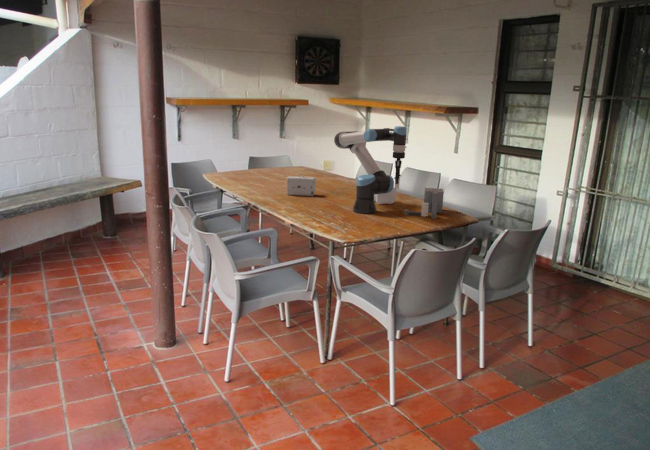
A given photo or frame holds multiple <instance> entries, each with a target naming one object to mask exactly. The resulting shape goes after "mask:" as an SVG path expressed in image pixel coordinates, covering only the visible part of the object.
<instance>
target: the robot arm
mask: <svg viewBox="0 0 650 450" xmlns="http://www.w3.org/2000/svg"><path fill="white" fill-rule="evenodd" d="M333 141H334V144H335V146H336V147H337V148H339V149H342V150H345V149H348V150H350V152H351V153H352V154H355V156H356V158H357V159H358V160H359V162H360V164H361V166H362V167H363V169H364V170H365V172H366V174H362V175H359V176H358V177H357V179H356V182H355V183H356V190H355V191H356V196H355V201H354V204H353V206H352V207H353V208H352V212H354V213H356V214H357V213H358V214H363V215H364V214H365V215H367V214H375V213H377V206H376V202H374V195H375V194H386V193H389V192H391V191H392V189H393V187H394V189H396V190H399V189H400V177H402V175H401V173H400V172H401V168H402V159H405V157H406V156H405V155H406V152H405V151H406V149H407V146H406V143H407V127H406V126H394V127H393V128H390V127H384V128H368V129H365V130H360V131H359V130H355V131H354V130H353V131H340V132H338V133H336V135H334V140H333ZM384 141H385V142H387V141H388V142H389V141H390V142H393V145H392V151H393V152H392V158H393V159H396V160H394V161H395V162H394V164H395V166H394V168H395V175H394V176H395V177H394V178H393V177H392V175H389V174H388V175H387V174H386V172H385V170H382V169H381V168H380V167H379V166H378V164H377V162H376V161H375V159H374V158H373V156H372V154H371V153H370V152H369V150H368V148H367V143H370V142H371V143H372V142H384Z"/></svg>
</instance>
